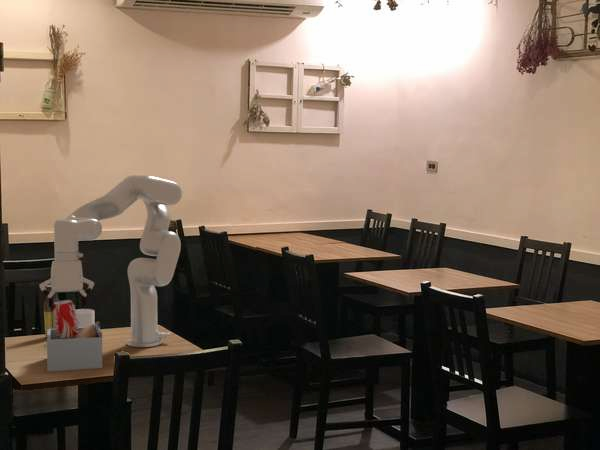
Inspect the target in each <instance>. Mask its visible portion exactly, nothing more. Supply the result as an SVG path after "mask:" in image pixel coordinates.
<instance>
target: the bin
mask: <svg viewBox="0 0 600 450" xmlns="http://www.w3.org/2000/svg"><path fill="white" fill-rule="evenodd" d="M100 324H101V323H100V321H96V322H95V330H96V335H97V336H95V337H91V338H73V339H60V338H58V337H57V334H56V329H48V331H47V337H46V350H47V351H46V358H47V359H46V362H47V363H46V364H47V367H46V368H47V370H46V371H47V373H48V372H62V371H75V370H93V369H103V368H104V367H103V332H102V331H101V327H100V326H101V325H100ZM84 328H86V327H78V331H79V330H81V329H84Z"/></svg>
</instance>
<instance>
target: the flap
mask: <svg viewBox="0 0 600 450" xmlns="http://www.w3.org/2000/svg"><path fill="white" fill-rule="evenodd" d="M95 336H97V335H96V330H95V326H94V324H93V325H91V326H88V327H86V328H84V329H81V330H79V331H78V334H77V335H76V337H74V338H91V337H95ZM70 339H73V338H70Z"/></svg>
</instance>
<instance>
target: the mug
mask: <svg viewBox="0 0 600 450" xmlns="http://www.w3.org/2000/svg"><path fill="white" fill-rule="evenodd" d="M75 311H76V318H77V325H78V327H88V326H91V325H93V324H94V326H95V323H96V322H95V310H94V309H91V308H84V309H82V308H80V309H79V308H78V309H75Z"/></svg>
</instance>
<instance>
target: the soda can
mask: <svg viewBox="0 0 600 450" xmlns="http://www.w3.org/2000/svg"><path fill="white" fill-rule="evenodd" d="M75 310H76V305H75V304H74V302H73V300H72V299H64V300H59V301H58V302H55V303H54V307H53V315H54V322H55V329H56V334H57V337H58V338H60V339H70V338H74V337H76V335H77V334H78V325H77V318H76V311H75Z"/></svg>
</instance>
